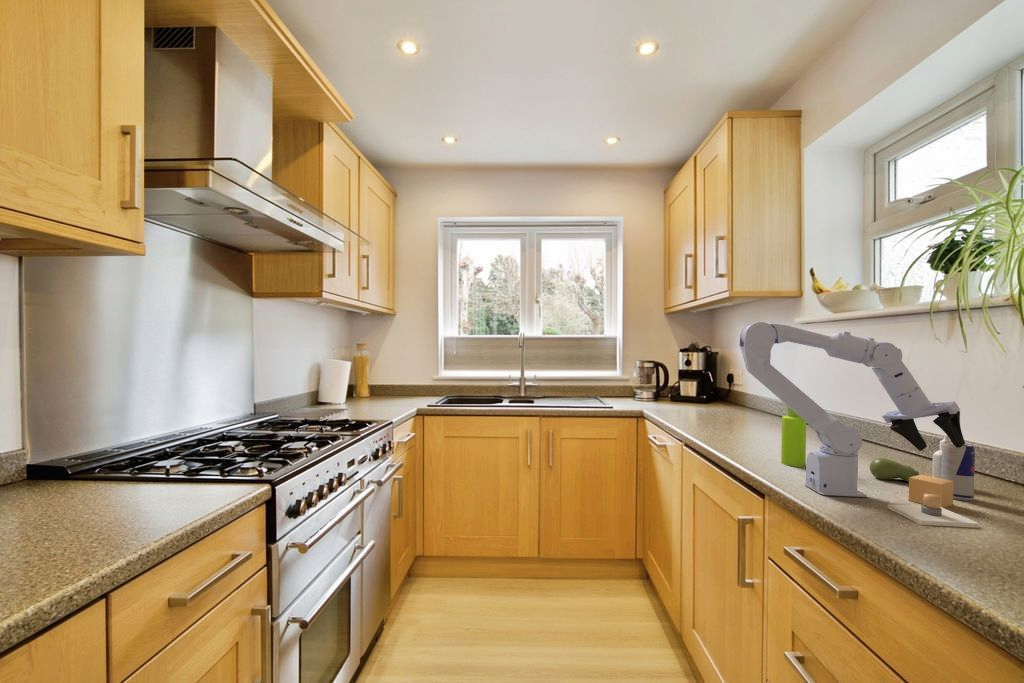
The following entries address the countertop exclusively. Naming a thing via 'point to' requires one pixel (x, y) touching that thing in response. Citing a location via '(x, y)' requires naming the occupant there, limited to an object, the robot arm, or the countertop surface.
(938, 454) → the white plastic bottle
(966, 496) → the energy drink
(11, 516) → the countertop surface
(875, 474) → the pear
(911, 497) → the cardboard-colored cube
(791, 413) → the soap dispenser
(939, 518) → the plate
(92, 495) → the countertop surface
